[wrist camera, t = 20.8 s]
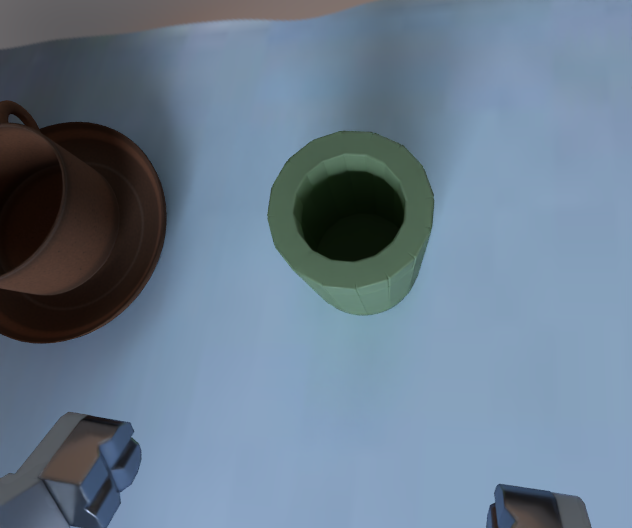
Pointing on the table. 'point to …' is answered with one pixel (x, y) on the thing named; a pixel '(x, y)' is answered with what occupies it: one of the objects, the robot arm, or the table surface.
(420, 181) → the green cylindrical container
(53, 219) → the cup and saucer
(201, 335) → the table surface
